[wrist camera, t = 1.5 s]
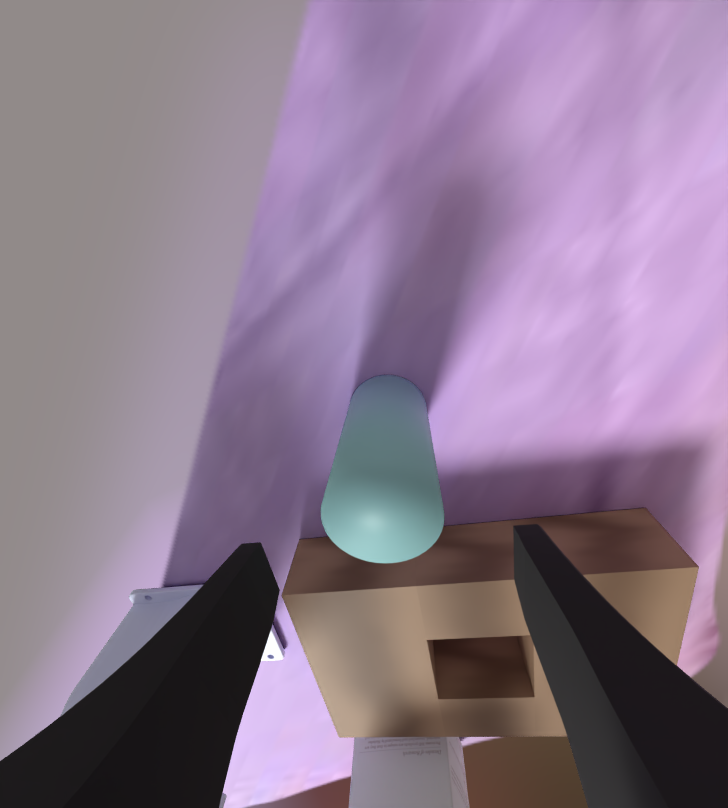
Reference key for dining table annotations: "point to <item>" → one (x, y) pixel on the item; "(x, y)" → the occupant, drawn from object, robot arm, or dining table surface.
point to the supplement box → (408, 773)
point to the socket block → (469, 623)
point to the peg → (384, 476)
